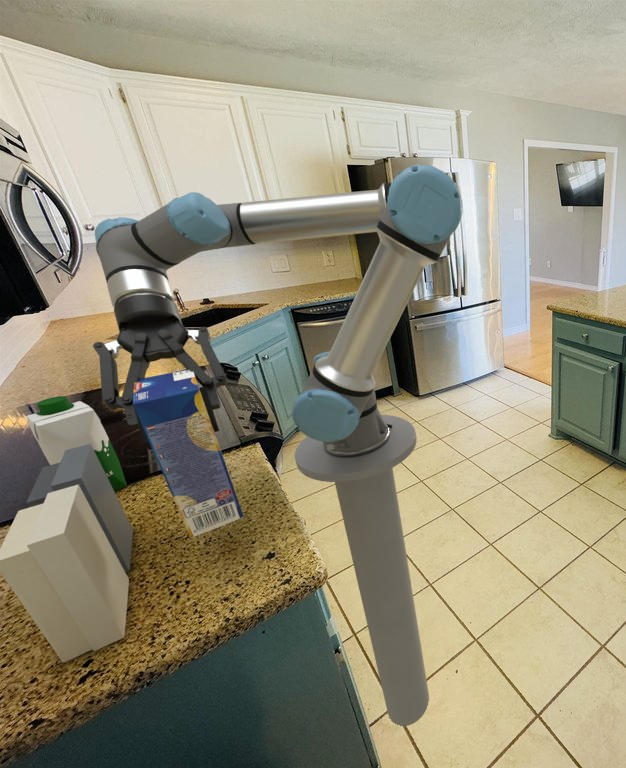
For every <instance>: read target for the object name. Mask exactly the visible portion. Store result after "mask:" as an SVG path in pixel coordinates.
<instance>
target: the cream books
mask: <svg viewBox="0 0 626 768" xmlns="http://www.w3.org/2000/svg"><path fill="white" fill-rule="evenodd" d="M0 574H1V576H2V577H3V579H4V580H5V581H6V583H7V584H8V586H9V587H10V589H11V590H12V591H13V593H14V594H15V596H16V597H17V599H18V600H19V601H20V603H21V604H22V606H23V607H24V609H25V610H26V612H27V614H29V616H30V618H31V619H32V621H34V623H35V625H36V627H38V629H39V631H40V632H41V633H42V634H43V636H44V638H45V640H46V641H47V642H48V643H49V645H50V646H51V648H52V649H53V651H54V652H55V654H56V655H57V656H58V658H59V659H60V661H61V662H62V663H63V664H64V663H66V662H68V661H71V660H73V659H75V658H77V657H79V656H81V655H84V654H86V653H88V652H90V651H93V652H96V651H98V650H100V649H102V648H105V647H107V646H109V645H111V644H113V643H115V642H117V641H119V640H122V639H124V638H125V637H126V636H125V635H126V623H127V610H128V600H129V587H130V585H129V584H130V579H129V577H128V575H127V573H125V571H124V569H123V567H122V565H121V564H120V562H119V560H118V558H117V556H116V554H115V552H114V550H113V549H112V547H111V545H110V543H109V541H108V539H107V537H106V535H105V533H104V532H103V530H102V528H101V526H100V524H99V522H98V520H97V518H96V516H95V515H94V513H93V511H92V509H91V507H90V505H89V503H88V501H87V499H86V498H85V496H84V494H83V492H82V490H81V488H80V486H79V485H75V486H72V487H68V488H65V489H61V490H58V491H54V492H51V493H48V494H47V496H46V499H45V501H44V503H43V504H40V505H36V506H33V507H30V508H29V507H26V508H22V509H19V510H18V511H17V512H16V515H15V517H14V519H13V521H12V524H11V526H10V527H9V529H8V532H7V533H6V535H5V538H4V540H3V542H2V544H1V546H0Z"/></svg>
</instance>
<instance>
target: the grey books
mask: <svg viewBox="0 0 626 768" xmlns="http://www.w3.org/2000/svg"><path fill="white" fill-rule="evenodd" d="M75 485H79V486H80V488H81V490H82V492H83V494H84V496H85V498H86V499H87V501H88V503H89V505H90V507H91V509H92V511H93V513H94V515H95V516H96V518H97V520H98V522H99V524H100V526H101V528H102V530H103V532H104V533H105V535H106V537H107V539H108V541H109V543H110V545H111V547H112V549H113V550H114V552H115V554H116V556H117V558H118V560H119V562H120V564H121V565H122V567H123V569H124V571H125V573H126V574H127V573H130V571H131V563H132V550H133V539H134V538H133V536H134V528H133V526H132V524H131V521H130V520H129V519H128V516H127V515H126V513H125V511H124V510H125V509H123V507H122V504H121V502H120V500H119V498H118V496H117V494H116V491H114V490H113V488H112V486H111V484H110V482H109V480H108V478H107V476H106V474H105V472H104V470H103V468H102V466H101V464H100V462H99V459H98V457H97V455H96V453H95V451H94V449H93V447H92V445H91V444H88V445H84V446H80V447H76V448H72V449H68V450H65V452H64V455H63V457H62V459H61V462H60V463H56V464H53V465H50V464H49V465H46V466H42V468H41V470H40V472H39V474H38V476H37V479H36V481H35V483H34V485H33V488H32V489H31V491H30V493H29V495H28V498H27V500H26V502H25V504H26V505H27V506H28V507H27V508H30V507H33V506H36V505H40V504H43V503H44V501H45V499H46V496H47V494H48V493H51V492H54V491H58V490H61V489H65V488H68V487H72V486H75Z"/></svg>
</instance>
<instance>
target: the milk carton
mask: <svg viewBox="0 0 626 768" xmlns="http://www.w3.org/2000/svg"><path fill="white" fill-rule="evenodd" d="M36 406H37V409H38V410H39V411H37V412H35V413H32V414H28V415H26V419H27V422H28V425H29V428H30V430H31V432H32V434H33V436H34V438H35V440H36V441H37V443H38V446H39V447H40V449H41V451H42V453H43V455H44V457H45V458H46V461H47V462H48V464H49V465H53V464H56V463H60V462H61V459H62V457H63V455H64V452H65V450H68V449H72V448H76V447H80V446H84V445H88V444H91V445H92V447H93V449H94V451H95V453H96V455H97V457H98V459H99V462H100V464H101V466H102V468H103V470H104V472H105V474H106V476H107V478H108V480H109V482H110V484H111V486H112V488H113V490H114V492H116V491H119V490H122V489H124V488H126V487H128V485H127V480H126V478H125V475H124V472H123V469H122V466H121V462H120V460H119V457H118V456H117V453H116V451H115V449H114V446H113V445H112V443H111V441H110V438H109V436H108V434H107V432H106V429H105V427H104V426H103V424H102V422H101V418H100V417H99V415H97V413H96V412H95V409H93V408H92V407H91V406H90V405H88V404H86V403H84V402H83V401H82V400H79V401H75V402H71V403H70V401H69V399H68V397H67V396H66V395H65V396H64V395H60V396H54V397H49V398H45V399H43V400H40V401H38V402H37V403H36Z"/></svg>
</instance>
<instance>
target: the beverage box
mask: <svg viewBox="0 0 626 768" xmlns="http://www.w3.org/2000/svg"><path fill="white" fill-rule="evenodd" d="M198 383H199V382H198V381H197V380H196V378H195V375H194V372H192V371H190V370H189V369H183V370H178V371H173V372H168V373H162V374H158V375H157V374H156V375H152V376H146V377H145V378H142V379H140V380H139V381H138V382H136V383H134V396H133V405H134V408H135V410H136V412H137V415H138V417H139V419H140V422H141V424H142V426H143V429H144V431H145V433H146V436H147V438H148V440H149V443H150V445H151V447H152V449H151V450H152V452H153V454H154V457H155V460H156V461H157V464H158V466H159V468H160V471H161V473H162V475H163V477H164V480H165V482H166V485H167V487H168V489H169V492H170V494H171V496H172V499H173V501H174V503H175V506H176V508H177V511H178V513H179V515H180V518H181V520H182V522H183V524H184V527H185V529H186V532H187V534H188V536H189V538H190V539H193V538H195V537H197V536H200V535H202V534H205V533H208V532H210V531H213V530H215V529H217V528H220V527H222V526H225V525H228V524H230V523H233V522H236V521H238V520H240V519H243V518H245V516H244V512H243V510H242V507H241V504H240V502H239V497H238V495H237V492H236V489H235V486H234V483H233V480H232V477H231V475H230V472H229V469H228V466H227V464H226V461H225V457H224V454H223V452H222V448H221V446H220V443H219V441H218V438H217V434H216V432H214V430H213V427H212V424H211V421H210V419H209V416H208V413H207V410H206V407H205V404H204V401H203V398H202V395H201V392H200V389H199V388H200V386H199V384H198Z"/></svg>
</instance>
